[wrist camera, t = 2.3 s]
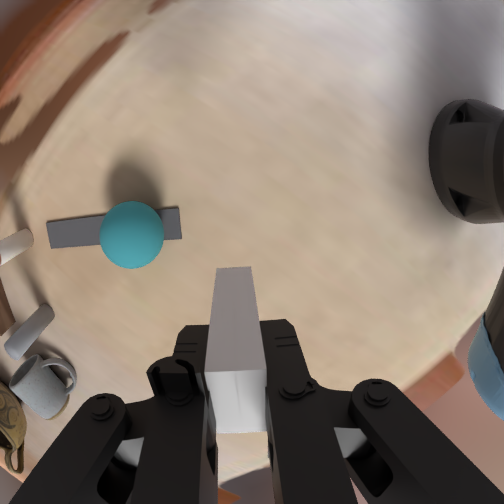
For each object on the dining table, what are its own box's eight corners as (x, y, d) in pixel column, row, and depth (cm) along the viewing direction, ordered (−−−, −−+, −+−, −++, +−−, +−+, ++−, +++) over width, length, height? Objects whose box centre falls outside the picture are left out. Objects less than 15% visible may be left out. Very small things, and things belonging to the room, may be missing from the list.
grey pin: (51, 304, 29) (13, 343, 21) (56, 320, 30) (22, 361, 22) (38, 303, 29) (1, 341, 21) (44, 319, 30) (10, 358, 22)
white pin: (31, 227, 26) (-18, 252, 18) (35, 247, 27) (-11, 277, 18) (18, 229, 26) (-30, 254, 17) (22, 248, 27) (-24, 277, 18)
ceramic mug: (55, 396, 35) (39, 427, 28) (23, 360, 33) (1, 389, 25) (91, 383, 34) (73, 420, 27) (54, 342, 32) (30, 375, 24)
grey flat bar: (178, 208, 27) (178, 208, 26) (181, 238, 28) (181, 238, 28) (46, 222, 26) (45, 223, 26) (51, 248, 27) (51, 248, 27)
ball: (167, 193, 26) (149, 204, 20) (173, 253, 28) (159, 278, 22) (110, 199, 26) (82, 212, 20) (119, 256, 28) (96, 280, 22)
